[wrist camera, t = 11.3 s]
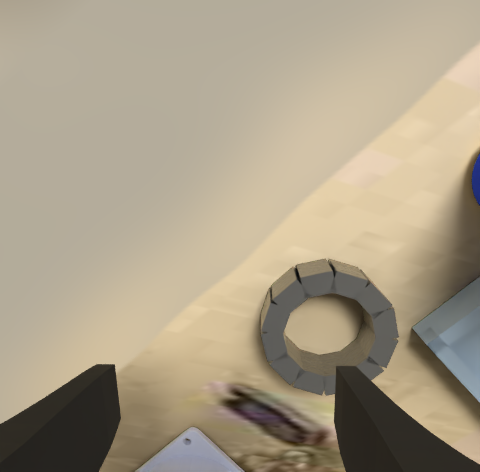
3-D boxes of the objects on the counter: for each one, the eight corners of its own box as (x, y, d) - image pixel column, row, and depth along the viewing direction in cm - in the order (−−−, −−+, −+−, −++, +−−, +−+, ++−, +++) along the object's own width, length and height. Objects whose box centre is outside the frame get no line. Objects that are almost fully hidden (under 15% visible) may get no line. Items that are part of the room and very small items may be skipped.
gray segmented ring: (316, 392, 24) (321, 416, 21) (237, 313, 23) (235, 331, 20) (409, 321, 22) (424, 340, 20) (329, 235, 21) (337, 245, 19)
